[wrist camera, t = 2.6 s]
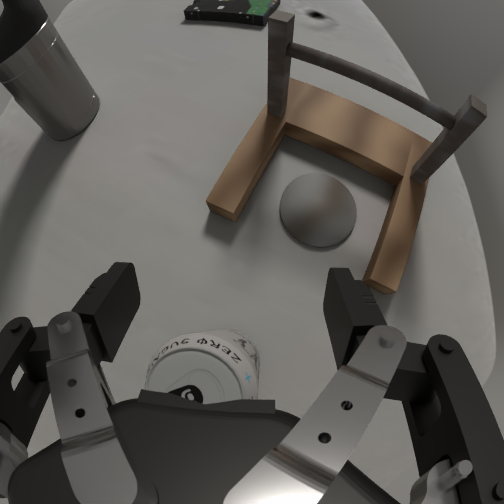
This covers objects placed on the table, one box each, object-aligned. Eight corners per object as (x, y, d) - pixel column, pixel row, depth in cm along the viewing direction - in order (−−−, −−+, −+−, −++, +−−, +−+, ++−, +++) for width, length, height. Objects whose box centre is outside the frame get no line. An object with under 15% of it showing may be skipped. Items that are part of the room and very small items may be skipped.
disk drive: (185, 22, 40) (265, 28, 39) (182, 11, 38) (265, 15, 36) (208, -2, 43) (280, 4, 41) (206, -12, 40) (281, -8, 38)
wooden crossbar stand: (209, 210, 31) (168, 114, 16) (284, 89, 34) (291, -11, 19) (386, 294, 28) (484, 263, 13) (426, 154, 32) (488, 77, 17)
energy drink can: (270, 375, 27) (279, 427, 12) (212, 399, 26) (167, 464, 12) (243, 318, 28) (223, 313, 13) (186, 343, 28) (115, 359, 13)
